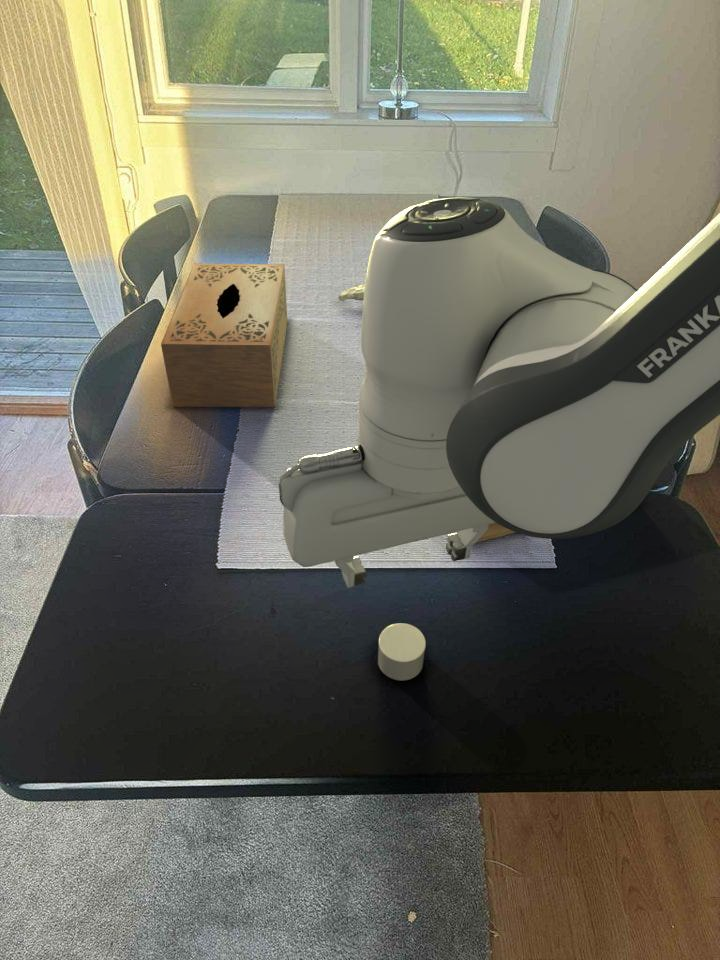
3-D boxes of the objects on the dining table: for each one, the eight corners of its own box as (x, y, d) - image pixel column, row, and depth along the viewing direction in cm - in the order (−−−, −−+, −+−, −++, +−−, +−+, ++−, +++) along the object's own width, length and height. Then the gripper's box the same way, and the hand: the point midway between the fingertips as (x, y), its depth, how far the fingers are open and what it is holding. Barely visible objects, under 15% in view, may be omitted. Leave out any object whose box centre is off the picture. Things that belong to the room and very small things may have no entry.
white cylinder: (430, 673, 66) (433, 654, 64) (387, 686, 65) (388, 667, 63) (412, 637, 69) (414, 618, 67) (371, 648, 68) (372, 629, 66)
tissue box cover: (275, 407, 99) (270, 345, 93) (172, 406, 99) (160, 344, 92) (287, 320, 119) (284, 264, 112) (202, 319, 118) (194, 263, 112)
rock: (339, 302, 124) (339, 289, 122) (355, 278, 132) (355, 265, 131) (443, 316, 120) (445, 302, 119) (453, 290, 129) (455, 277, 127)
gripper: (289, 493, 45) (296, 627, 54) (566, 436, 50) (530, 566, 59) (266, 436, 49) (276, 568, 58) (522, 389, 55) (495, 517, 64)
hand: (406, 567), depth 59 cm, fingers open, 8 cm apart
